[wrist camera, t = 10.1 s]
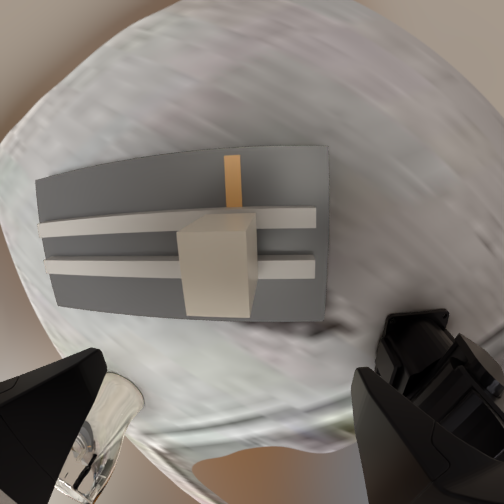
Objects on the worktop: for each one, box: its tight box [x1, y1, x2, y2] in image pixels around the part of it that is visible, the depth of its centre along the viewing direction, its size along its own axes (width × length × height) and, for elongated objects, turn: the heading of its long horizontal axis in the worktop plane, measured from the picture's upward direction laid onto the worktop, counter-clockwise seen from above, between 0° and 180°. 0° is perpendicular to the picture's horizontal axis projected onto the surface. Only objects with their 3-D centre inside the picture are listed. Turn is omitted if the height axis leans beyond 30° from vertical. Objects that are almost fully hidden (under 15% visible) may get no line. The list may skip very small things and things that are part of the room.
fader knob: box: [176, 213, 258, 318], centre depth 15 cm, size 3×4×6 cm
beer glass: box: [55, 373, 144, 504], centre depth 20 cm, size 7×7×15 cm
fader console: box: [35, 145, 329, 322], centre depth 19 cm, size 24×12×3 cm, turn 92°
